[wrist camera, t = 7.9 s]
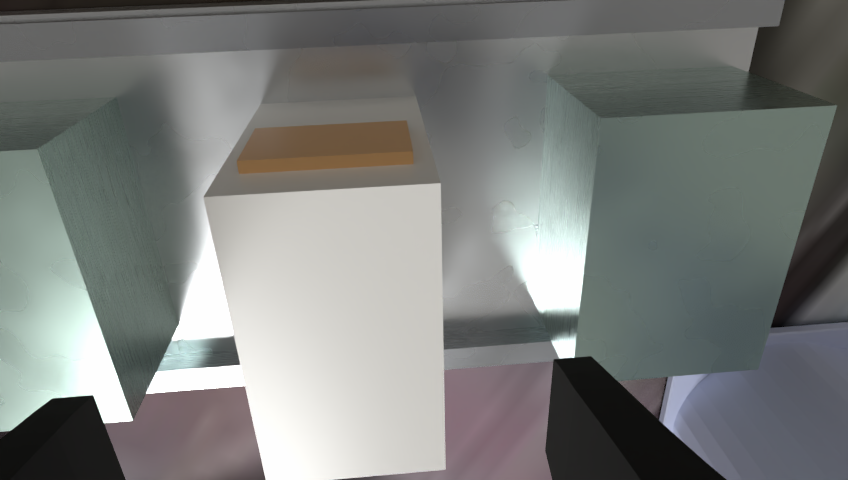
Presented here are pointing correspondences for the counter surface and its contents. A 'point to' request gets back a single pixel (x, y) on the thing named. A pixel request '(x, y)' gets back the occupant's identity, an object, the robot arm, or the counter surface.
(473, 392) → the counter surface
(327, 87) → the din panel
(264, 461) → the block
